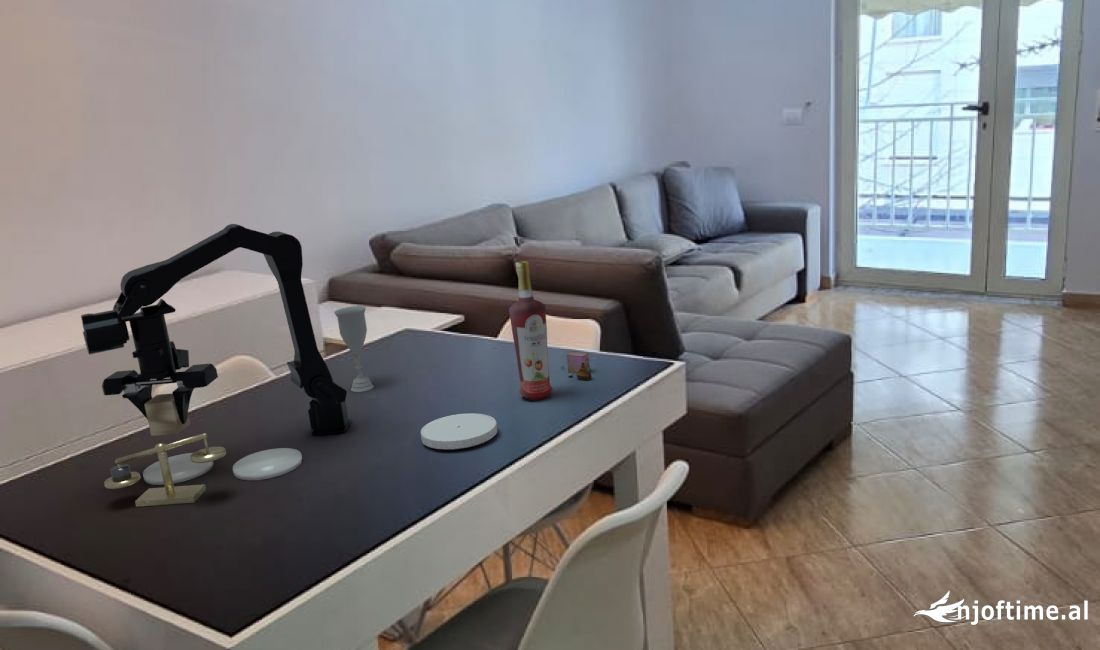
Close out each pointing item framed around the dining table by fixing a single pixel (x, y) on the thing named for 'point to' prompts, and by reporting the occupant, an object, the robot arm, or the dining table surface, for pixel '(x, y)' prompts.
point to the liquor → (530, 338)
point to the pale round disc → (177, 470)
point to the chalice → (354, 340)
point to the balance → (164, 474)
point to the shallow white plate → (267, 464)
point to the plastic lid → (458, 431)
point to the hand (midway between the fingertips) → (169, 424)
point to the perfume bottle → (579, 365)
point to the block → (164, 415)
